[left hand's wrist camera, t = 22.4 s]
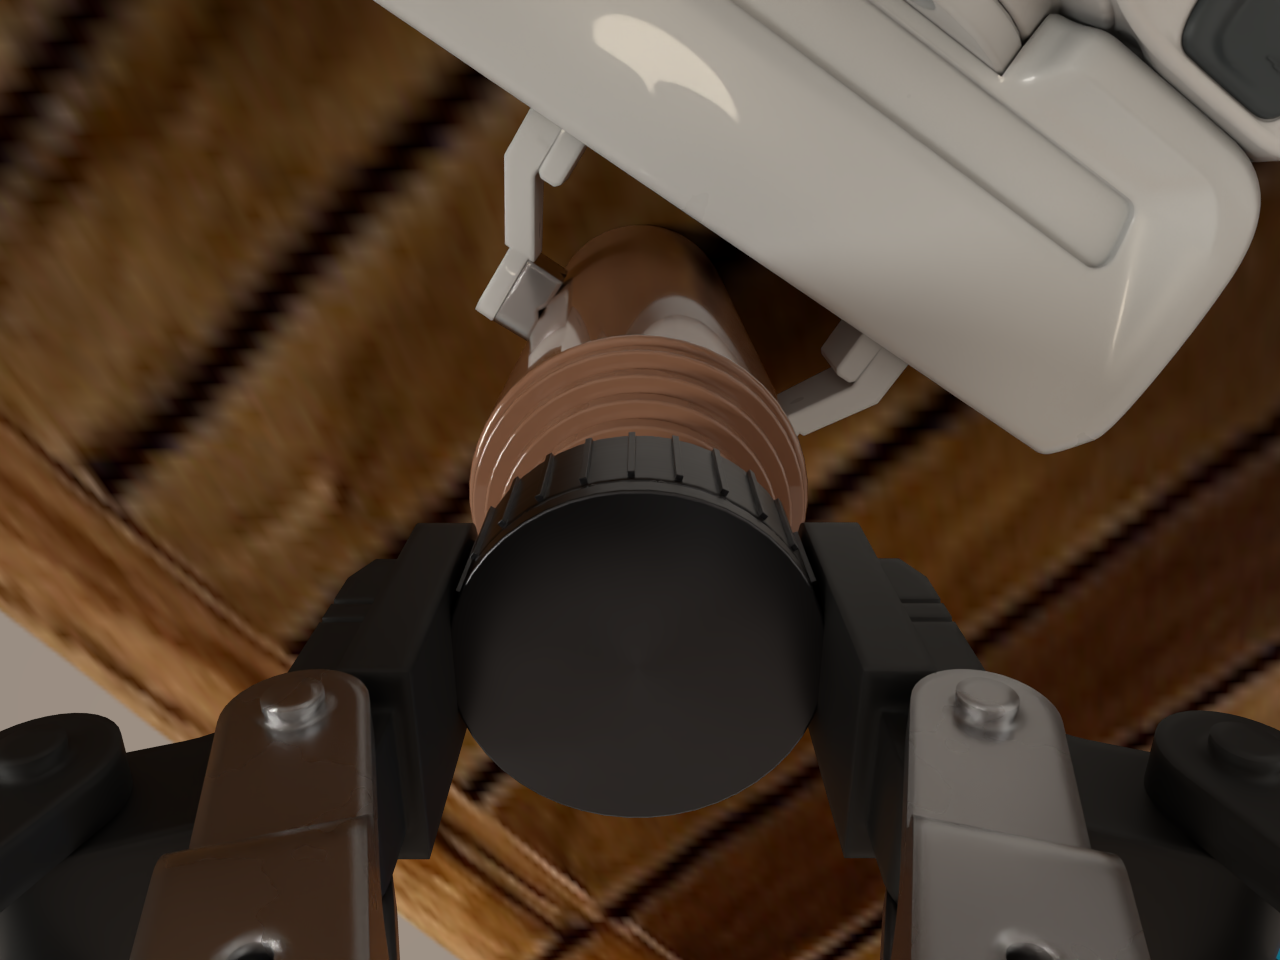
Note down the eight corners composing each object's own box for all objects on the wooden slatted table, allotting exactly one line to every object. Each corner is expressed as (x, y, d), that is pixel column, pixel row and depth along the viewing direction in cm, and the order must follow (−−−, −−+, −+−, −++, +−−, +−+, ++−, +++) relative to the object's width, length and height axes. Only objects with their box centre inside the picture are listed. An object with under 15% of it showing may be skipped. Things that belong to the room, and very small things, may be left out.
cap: (420, 655, 12) (385, 742, 11) (553, 369, 11) (536, 416, 9) (708, 770, 13) (718, 869, 11) (868, 517, 12) (909, 586, 10)
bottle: (751, 359, 29) (922, 736, 11) (596, 421, 30) (529, 867, 12) (688, 195, 27) (774, 341, 10) (524, 267, 28) (321, 526, 10)
